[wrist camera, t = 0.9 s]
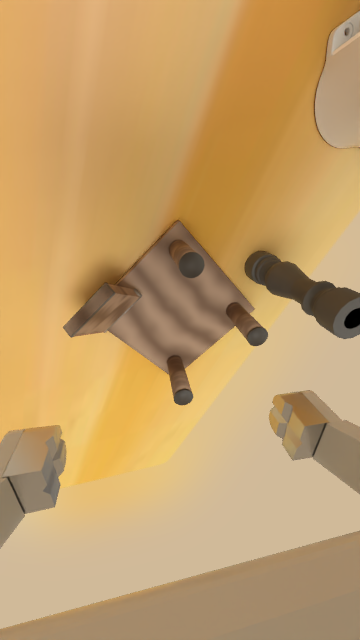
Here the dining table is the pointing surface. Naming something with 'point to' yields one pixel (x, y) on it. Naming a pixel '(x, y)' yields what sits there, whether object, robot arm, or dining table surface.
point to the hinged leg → (102, 310)
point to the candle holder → (308, 293)
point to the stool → (181, 307)
